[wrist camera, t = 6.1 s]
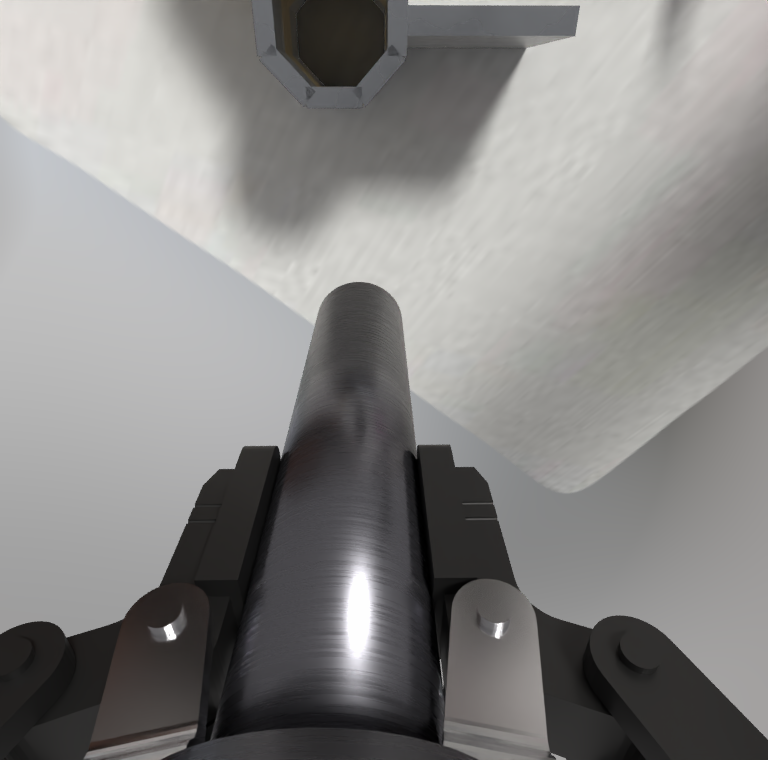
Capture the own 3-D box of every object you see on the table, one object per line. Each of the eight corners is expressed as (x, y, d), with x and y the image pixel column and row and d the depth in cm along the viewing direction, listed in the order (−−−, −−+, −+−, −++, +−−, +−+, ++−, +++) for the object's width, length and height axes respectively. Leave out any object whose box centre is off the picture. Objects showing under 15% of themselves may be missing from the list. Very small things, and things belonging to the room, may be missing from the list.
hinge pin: (425, 259, 18) (622, 953, 4) (420, 376, 20) (526, 1065, 6) (290, 260, 18) (-54, 967, 4) (301, 377, 20) (125, 1074, 6)
